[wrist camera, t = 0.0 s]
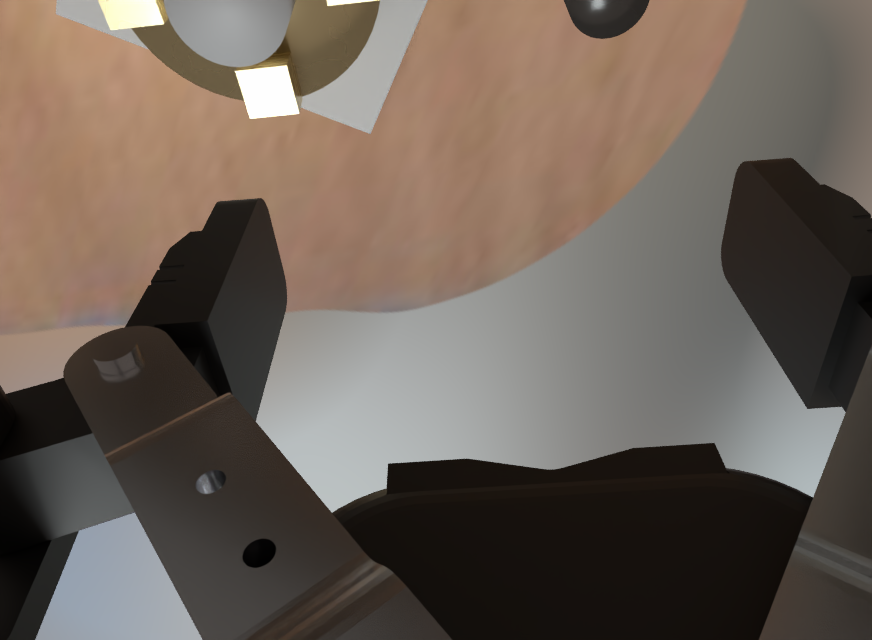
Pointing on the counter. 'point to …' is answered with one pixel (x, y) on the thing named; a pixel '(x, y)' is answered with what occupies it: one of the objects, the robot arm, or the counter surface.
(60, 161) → the counter surface
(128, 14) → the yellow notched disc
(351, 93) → the flange plate
